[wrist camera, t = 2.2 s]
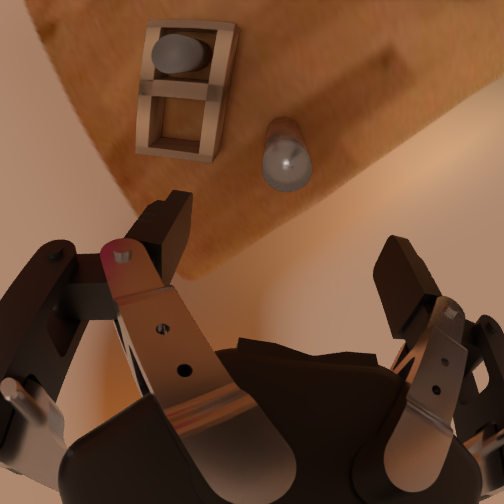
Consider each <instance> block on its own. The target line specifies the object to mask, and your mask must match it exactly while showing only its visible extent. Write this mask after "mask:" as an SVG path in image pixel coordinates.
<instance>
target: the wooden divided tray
mask: <svg viewBox="0 0 504 504" xmlns="http://www.w3.org/2000/svg"><path fill="white" fill-rule="evenodd" d="M175 31H190V32H207V33H217V37H216V42H215V47H214V53H213V59H212V65H211V71H210V77H209V81H208V80H198V79H187V78H173V77H168V74H171V73H179V72H188V71H197V70H201V69H203V68H205V67H206V66H207V65H208V64H209V63H210V61H211V58H212V50H211V48H210V46H209V45H208V44H207V43H206V42H204V41H201V40H198V39H194V38H190V37H187V36H183V35H179V34H174V32H175ZM239 33H240V28H239V27H238V26H237V25H236V24H235V23H227V22H216V21H202V20H148V24H147V30H146V37H145V43H144V50H143V58H142V66H141V75H140V85H139V96H138V108H137V124H136V148H135V153H136V154H145V155H154V156H162V157H169V158H177V159H184V160H191V161H197V162H204V163H210V164H212V163H213V161H214V159H215V158H216V156H217V155H218V153H219V149H220V143H221V136H222V129H223V123H224V117H225V111H226V104H227V99H228V93H229V87H230V81H231V76H232V70H233V65H234V59H235V54H236V49H237V43H238V38H239ZM165 97H175V98H186V99H195V100H204V101H206V103H205V110H204V117H203V124H202V132H201V140H200V142H197V141H190V140H182V139H174V138H165V137H162V126H163V115H164V105H165Z"/></svg>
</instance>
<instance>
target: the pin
mask: <svg viewBox="0 0 504 504" xmlns="http://www.w3.org/2000/svg"><path fill="white" fill-rule="evenodd" d="M262 173H263V176H264V179H265V180H266V182H267V183H268V184H269V185H270V186H271V187H272V188H274V189H276V190H278V191H282V192H293V191H296V190H299V189H301V188H302V187H304V186H305V185H306V184H307V183H308V181H309V179H310V177H311V174H312V164H311V160H310V157H309V154H308V151H307V148H306V146H305V143H304V140H303V137H302V134H301V131H300V128H299V126H298V124H297V123H296V122H295V121H294V120H292V119H290V118H287V117H279V118H276V119H274V120H273V121H272V122H271V123H270V124H269V126H268V129H267V135H266V143H265V150H264V157H263V164H262Z"/></svg>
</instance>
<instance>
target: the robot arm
mask: <svg viewBox="0 0 504 504" xmlns="http://www.w3.org/2000/svg"><path fill="white" fill-rule="evenodd" d="M192 202H193V194H192V193H190V192H184V191H178V190H173V191H172V192H171V193H170V195H169V196H168V198H167V199H166V200H165V201H161V200H157V201H155V202H153V203H152V204H150V205H148V206H147V207H146V209H145V210H144V211H143V213H142V214H141V215H140V217H139V218H138V220H137V221H136V222H135V223H134V225H133V226H132V227H131V229H130V230H129V231H128V233H127V234H126V235H125V237H124V238H121V239H116V240H113V241H111V242H109V243H107V244H106V245H104V246H103V248H102V249H101V251H100V253H98V254H77V253H76V248H75V245H74V244H73V243H72V242H70V241H67V240H54V241H51V242H48V243H46V244H44V245H43V246H41V247H40V248H39V249H38V250H37V252H36V253H35V254H34V255H33V257H32V258H31V259H30V261H29V262H28V263H27V264H26V266H25V267H24V268H23V269H22V271H21V272H20V274H19V275H18V276H17V278H16V279H15V280H14V282H13V283H12V284H11V286H10V287H9V289H8V290H7V291H6V293H5V294H4V296H3V297H2V299H1V300H0V467H2V468H6V469H8V470H10V471H12V472H14V473H16V474H20V475H25V476H27V477H29V478H31V479H33V480H35V481H37V482H39V483H41V484H43V485H45V486H47V487H49V488H52V489H54V490H56V491H58V492H60V496H61V499H62V503H63V504H479V501H482V500H484V499H487V498H489V497H491V496H494V495H496V494H498V493H500V492H502V491H504V333H503V331H502V329H501V327H500V326H499V324H498V323H497V322H496V321H495V320H494V319H493V318H491V317H490V316H488V315H482V316H481V317H480V318H479V319H478V321H477V322H476V323H473V322H471V321H469V320H466V319H465V313H464V312H463V309H462V308H461V307H460V305H459V304H458V303H457V302H456V301H454V300H453V299H451V298H449V297H446V296H442V294H441V292H440V290H439V288H438V286H437V285H436V283H435V281H434V279H433V278H432V277H431V274H430V272H429V271H428V268H427V267H426V265H425V263H424V261H423V260H422V259H421V258H420V257H419V256H418V255H417V253H416V252H415V250H414V248H413V247H412V245H411V243H410V242H409V240H408V239H406V238H402V237H398V236H394V235H391V236H390V237H389V238H388V239H387V241H386V243H385V245H384V247H383V249H382V252H381V253H380V256H379V257H378V260H377V262H376V264H375V266H374V270H373V279H374V282H375V285H376V287H377V290H378V293H379V296H380V299H381V302H382V305H383V308H384V311H385V314H386V317H387V320H388V324H389V327H390V330H391V334H392V337H393V339H405V341H406V342H405V343H404V344H403V345H402V347H401V348H400V350H399V352H398V354H397V356H396V358H395V360H394V362H393V364H392V366H391V368H390V370H389V369H387V368H385V367H383V366H380V365H378V362H377V358H376V354H369V353H355V352H340V353H333V354H326V355H319V356H312V355H308V354H305V353H302V352H299V351H296V350H293V349H290V348H288V347H285V346H282V345H279V344H276V343H271V342H264V341H257V340H251V339H245V338H239V339H238V343H237V348H230V349H223V350H218V351H215V352H214V351H213V349H212V348H211V346H210V344H209V343H208V341H207V340H206V338H205V337H204V335H203V333H202V332H201V330H200V329H199V327H198V325H197V324H196V322H195V320H194V319H193V317H192V316H191V314H190V312H189V311H188V309H187V307H186V306H185V304H184V302H183V300H182V299H181V297H180V295H179V294H178V292H177V290H176V289H175V287H174V286H172V285H170V282H171V280H172V277H173V275H174V273H175V271H176V268H177V266H178V263H179V261H180V259H181V256H182V254H183V252H184V249H185V247H186V245H187V242H188V238H189V234H190V226H191V213H192ZM89 320H113V323H114V325H115V328H116V331H117V334H118V337H119V340H120V342H121V345H122V348H123V350H124V353H125V355H126V358H127V361H128V363H129V366H130V368H131V372H132V374H133V377H134V380H135V382H136V385H137V387H138V389H139V392H140V394H141V396H142V398H140V399H139V400H137V401H136V402H134V403H133V404H132V405H130V406H129V407H127V408H125V409H124V410H122V411H121V412H119V413H118V414H116V415H115V416H113V417H112V418H110V419H109V420H107V421H106V422H105V423H103V424H101V425H100V426H98V427H96V428H95V429H93V430H92V431H90V432H89V433H87V434H85V435H84V436H82V437H81V438H79V439H78V440H77V441H75V442H74V443H73V444H72V445H71V446H70V447H69V448H68V449H67V447H66V445H65V442H64V438H63V432H64V417H63V414H62V412H61V410H60V409H59V407H58V406H57V405H56V404H55V403H56V400H57V397H58V395H59V392H60V389H61V387H62V384H63V381H64V379H65V376H66V374H67V371H68V369H69V366H70V364H71V361H72V359H73V356H74V354H75V352H76V349H77V347H78V345H79V342H80V340H81V337H82V335H83V333H84V331H85V329H86V326H87V324H88V322H89ZM483 360H484V363H485V366H486V368H487V371H488V374H489V383H488V385H487V387H486V388H485V389H484V390H483V391H482V392H481V393H480V394H479V392H478V389H477V385H476V382H475V379H474V376H473V373H472V371H473V370H474V369H475V368H476V367H477V366H478V365H479V364H480V363H481V362H482V361H483ZM452 417H453V419H454V424H455V429H456V434H457V437H456V436H455V435H454V434H453V430H452V428H451V421H452Z"/></svg>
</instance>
